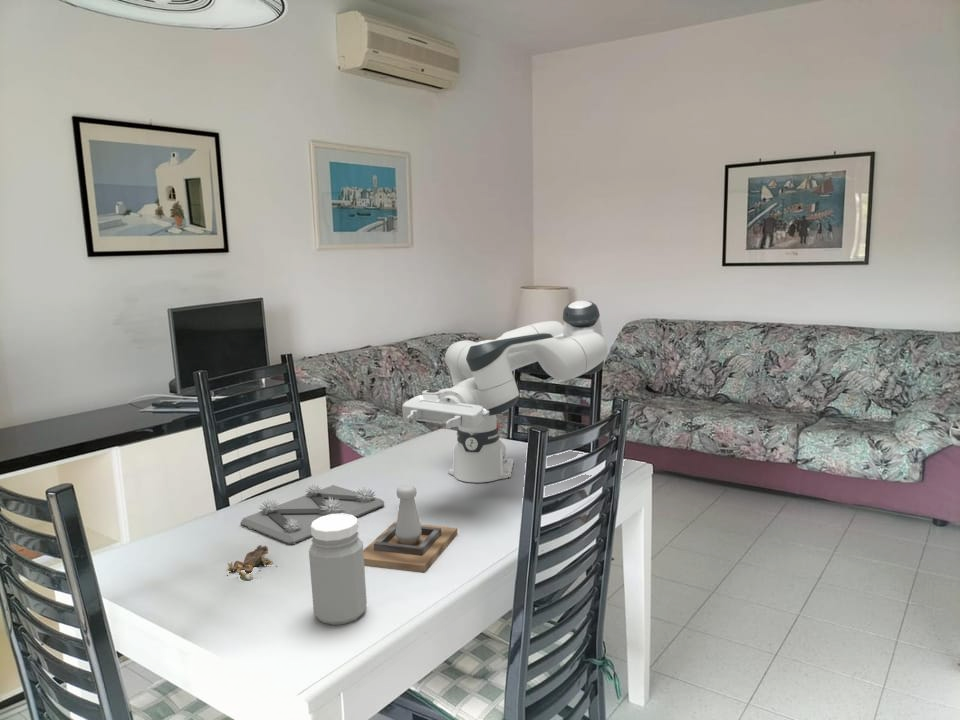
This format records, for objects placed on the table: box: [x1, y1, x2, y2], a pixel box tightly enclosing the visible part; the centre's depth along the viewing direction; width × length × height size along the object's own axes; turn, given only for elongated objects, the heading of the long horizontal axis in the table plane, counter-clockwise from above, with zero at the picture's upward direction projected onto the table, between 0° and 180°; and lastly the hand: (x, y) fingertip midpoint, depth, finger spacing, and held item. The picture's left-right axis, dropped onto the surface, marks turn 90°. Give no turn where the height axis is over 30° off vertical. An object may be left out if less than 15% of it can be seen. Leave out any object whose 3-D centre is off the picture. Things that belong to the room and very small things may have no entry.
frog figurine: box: [227, 544, 274, 582], centre depth 151 cm, size 12×12×4 cm
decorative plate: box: [240, 484, 385, 545], centre depth 179 cm, size 30×22×7 cm
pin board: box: [363, 521, 458, 573], centre depth 158 cm, size 20×16×3 cm
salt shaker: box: [395, 484, 422, 545], centre depth 157 cm, size 6×6×13 cm
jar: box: [308, 513, 368, 626], centre depth 130 cm, size 10×10×18 cm
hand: (427, 423), depth 164 cm, fingers open, 8 cm apart
